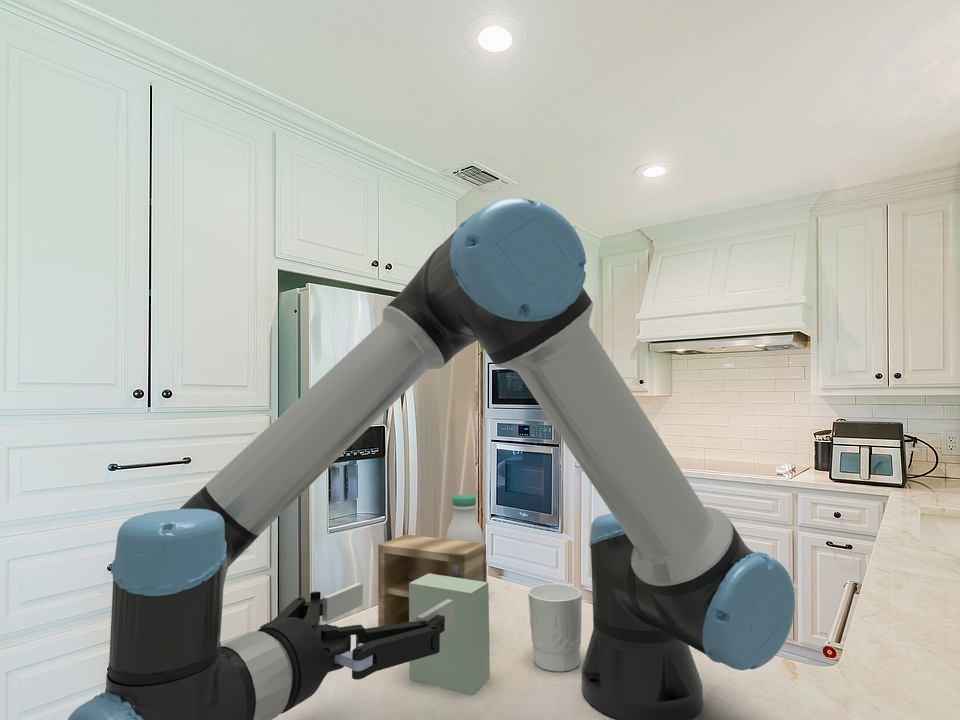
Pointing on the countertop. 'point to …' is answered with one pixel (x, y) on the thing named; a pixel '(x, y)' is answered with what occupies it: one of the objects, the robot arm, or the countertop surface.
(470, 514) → the milk bottle
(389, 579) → the cabinet
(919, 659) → the countertop surface
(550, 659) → the white cup
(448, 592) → the door panel
